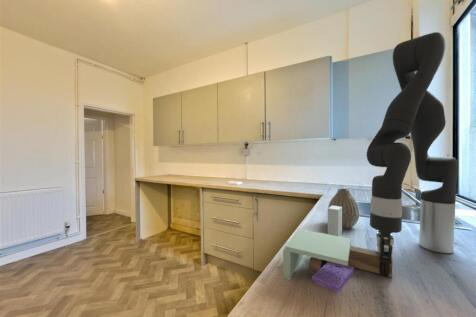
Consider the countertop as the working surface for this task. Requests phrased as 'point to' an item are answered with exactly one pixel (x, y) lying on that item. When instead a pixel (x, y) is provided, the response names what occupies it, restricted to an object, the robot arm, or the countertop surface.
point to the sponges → (333, 275)
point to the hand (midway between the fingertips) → (383, 270)
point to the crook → (357, 260)
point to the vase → (346, 208)
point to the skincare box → (335, 220)
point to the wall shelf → (314, 249)
